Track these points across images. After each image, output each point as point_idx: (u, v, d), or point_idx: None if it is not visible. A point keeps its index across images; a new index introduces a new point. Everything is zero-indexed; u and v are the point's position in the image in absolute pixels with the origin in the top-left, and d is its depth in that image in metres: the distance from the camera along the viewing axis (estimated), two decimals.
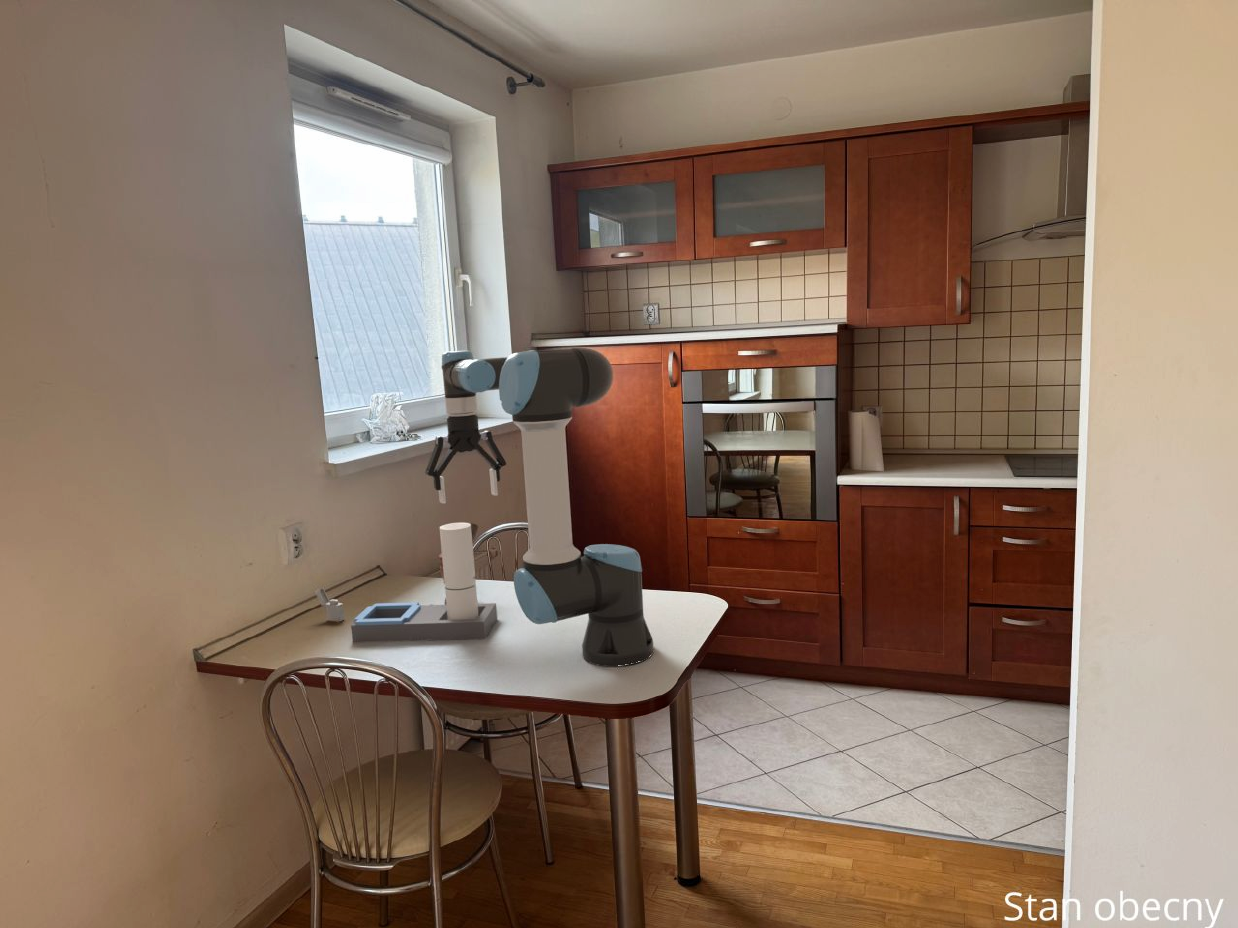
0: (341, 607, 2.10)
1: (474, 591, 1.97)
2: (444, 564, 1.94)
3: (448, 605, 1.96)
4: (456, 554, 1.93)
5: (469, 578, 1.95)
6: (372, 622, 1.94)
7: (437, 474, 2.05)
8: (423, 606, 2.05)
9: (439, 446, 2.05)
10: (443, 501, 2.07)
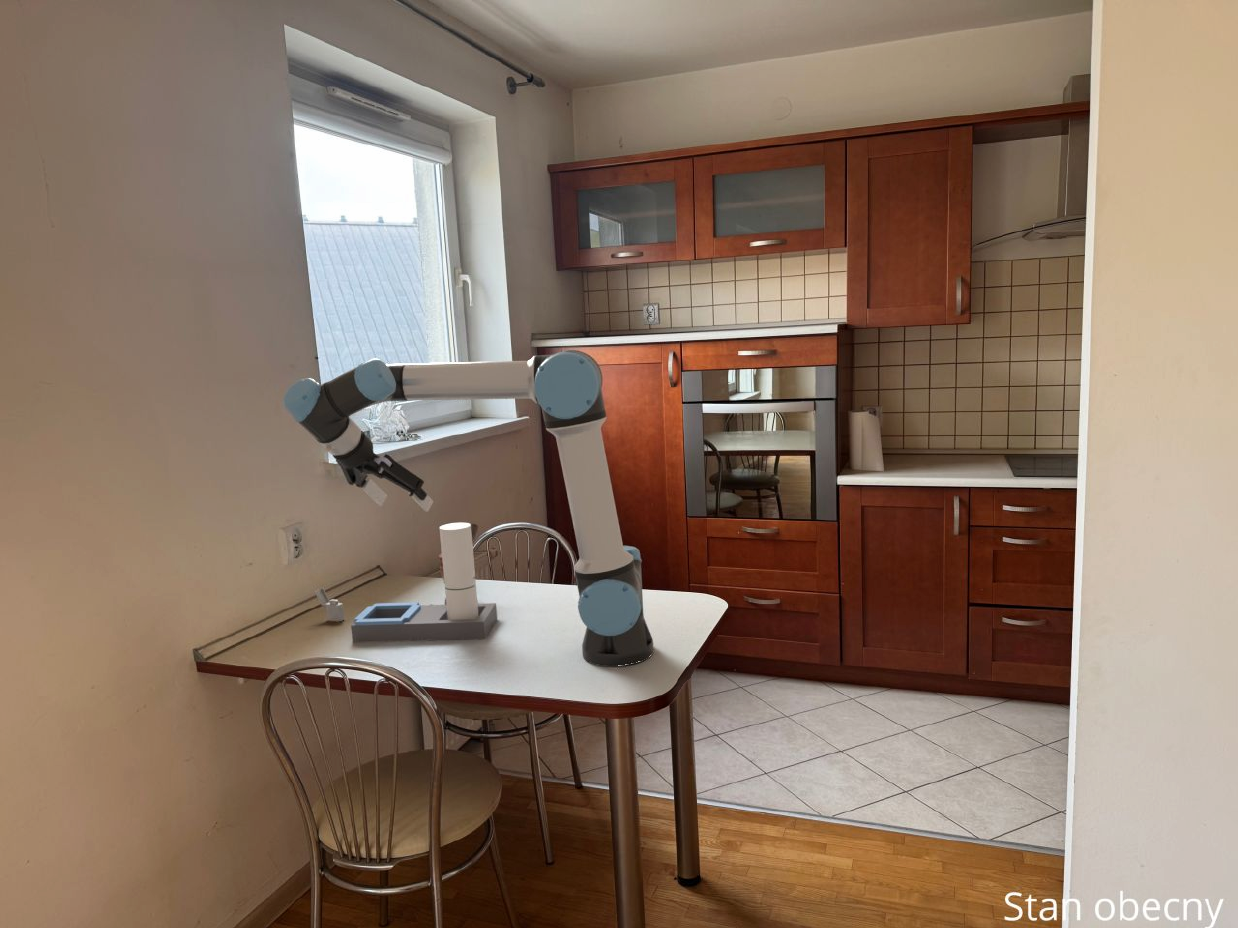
0: (341, 607, 2.10)
1: (474, 591, 1.97)
2: (444, 564, 1.94)
3: (448, 605, 1.96)
4: (456, 554, 1.93)
5: (469, 578, 1.95)
6: (372, 622, 1.94)
7: None
8: (423, 606, 2.05)
9: None
10: (431, 500, 1.78)
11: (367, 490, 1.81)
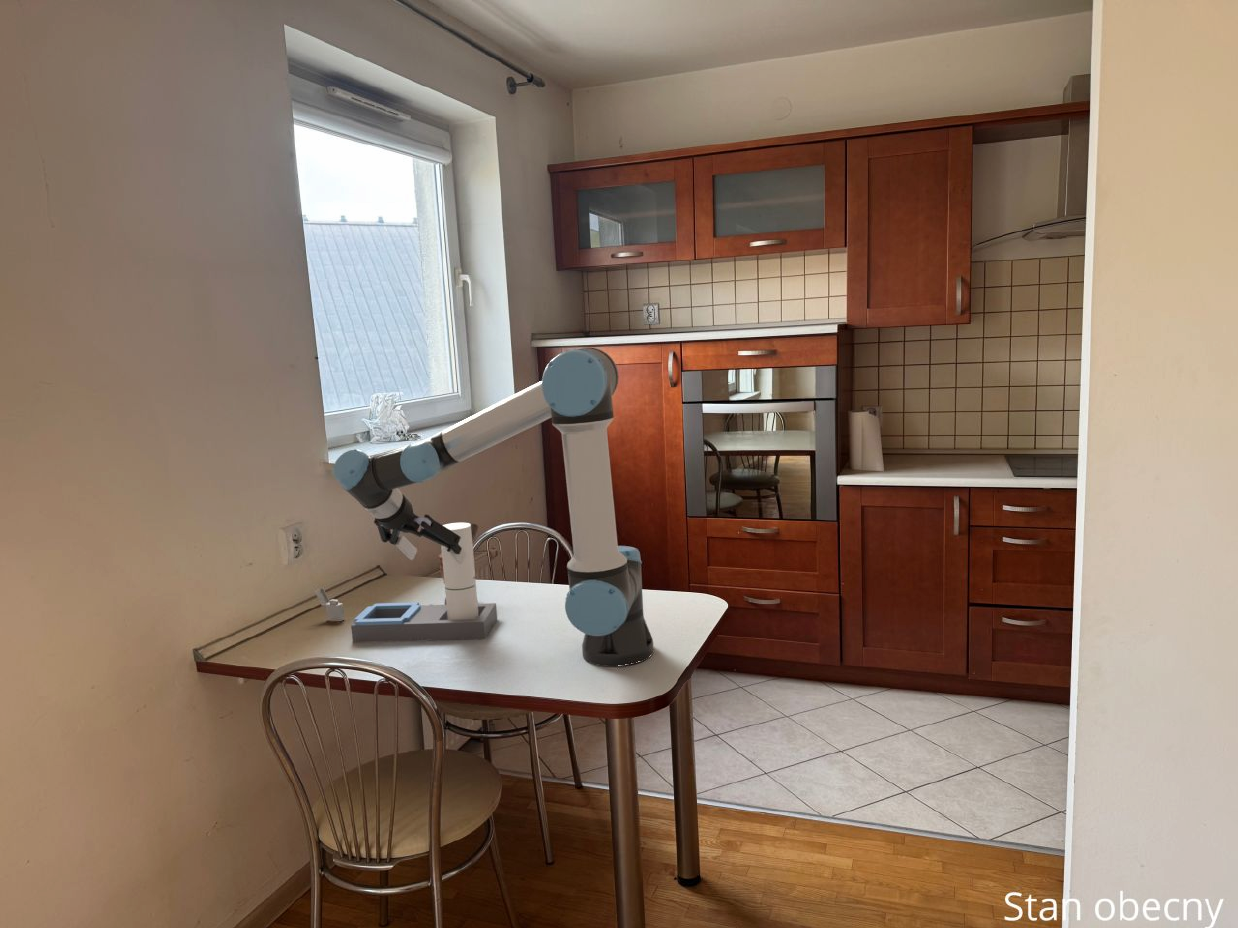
0: (341, 607, 2.10)
1: (474, 591, 1.97)
2: (444, 564, 1.94)
3: (448, 605, 1.96)
4: None
5: (469, 578, 1.95)
6: (372, 622, 1.94)
7: None
8: (423, 606, 2.05)
9: None
10: None
11: (400, 546, 1.90)
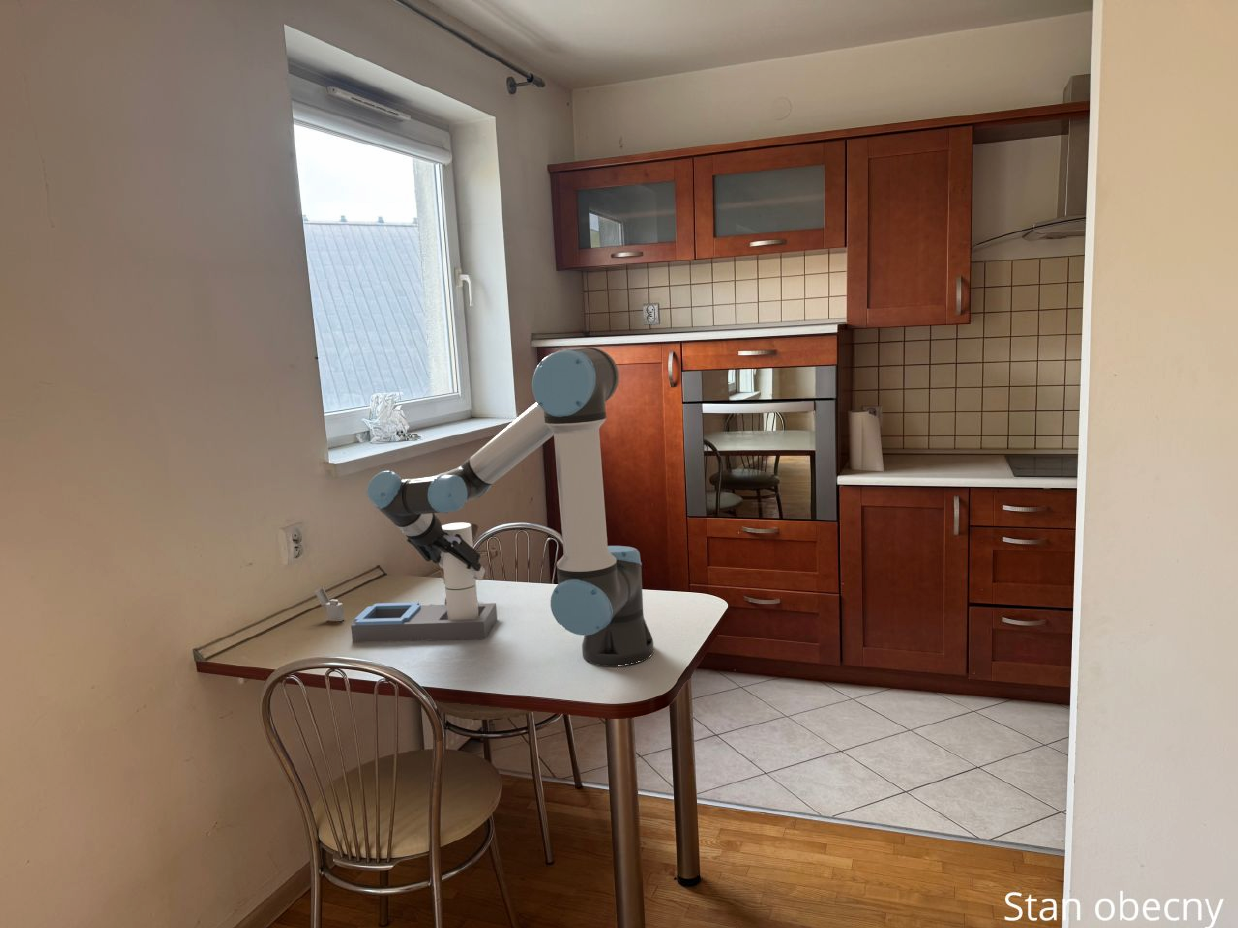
0: (341, 607, 2.10)
1: (474, 591, 1.97)
2: (444, 564, 1.94)
3: (448, 605, 1.96)
4: None
5: (469, 578, 1.95)
6: (372, 622, 1.94)
7: None
8: (423, 606, 2.05)
9: None
10: (483, 569, 1.99)
11: None
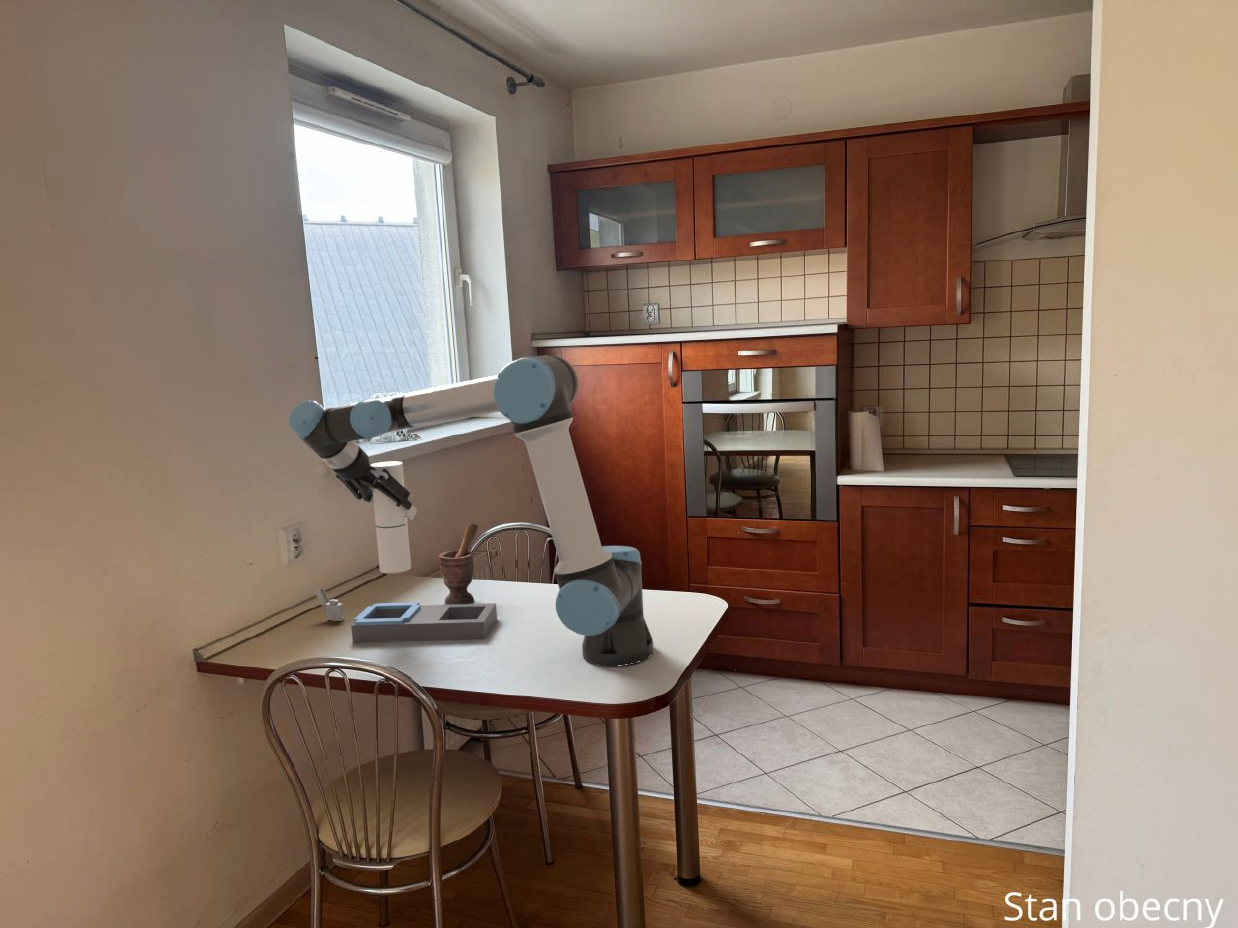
0: (341, 607, 2.10)
1: (405, 530, 1.96)
2: (374, 502, 1.93)
3: (378, 543, 1.95)
4: None
5: (399, 516, 1.94)
6: (372, 622, 1.94)
7: None
8: (423, 606, 2.05)
9: None
10: (415, 509, 1.98)
11: None
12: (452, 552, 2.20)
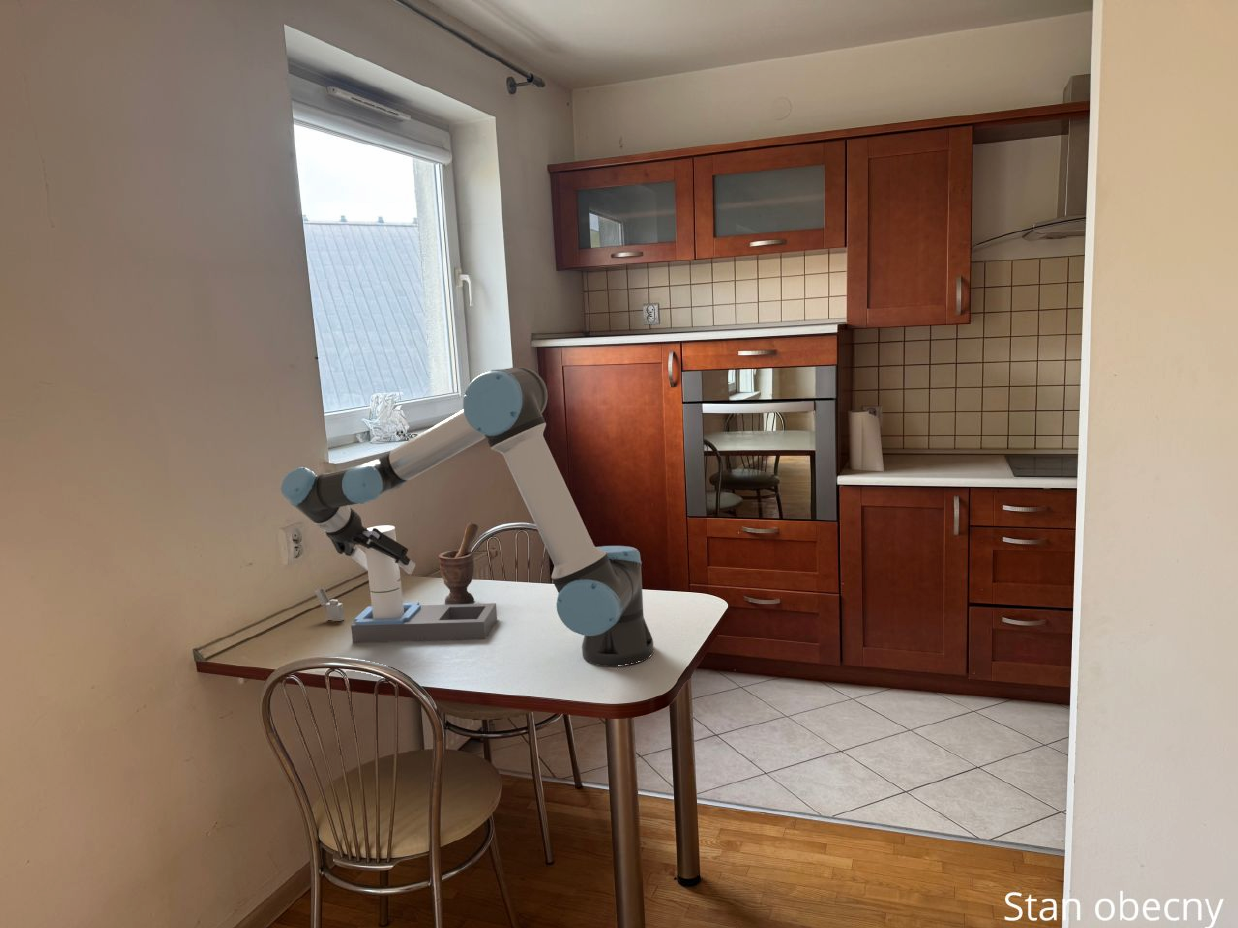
0: (341, 607, 2.10)
1: (399, 593, 1.98)
2: (368, 567, 1.95)
3: (373, 608, 1.97)
4: (378, 557, 1.94)
5: (393, 581, 1.96)
6: (372, 622, 1.94)
7: None
8: (423, 606, 2.05)
9: None
10: (413, 563, 1.98)
11: (356, 558, 1.98)
12: (452, 552, 2.20)
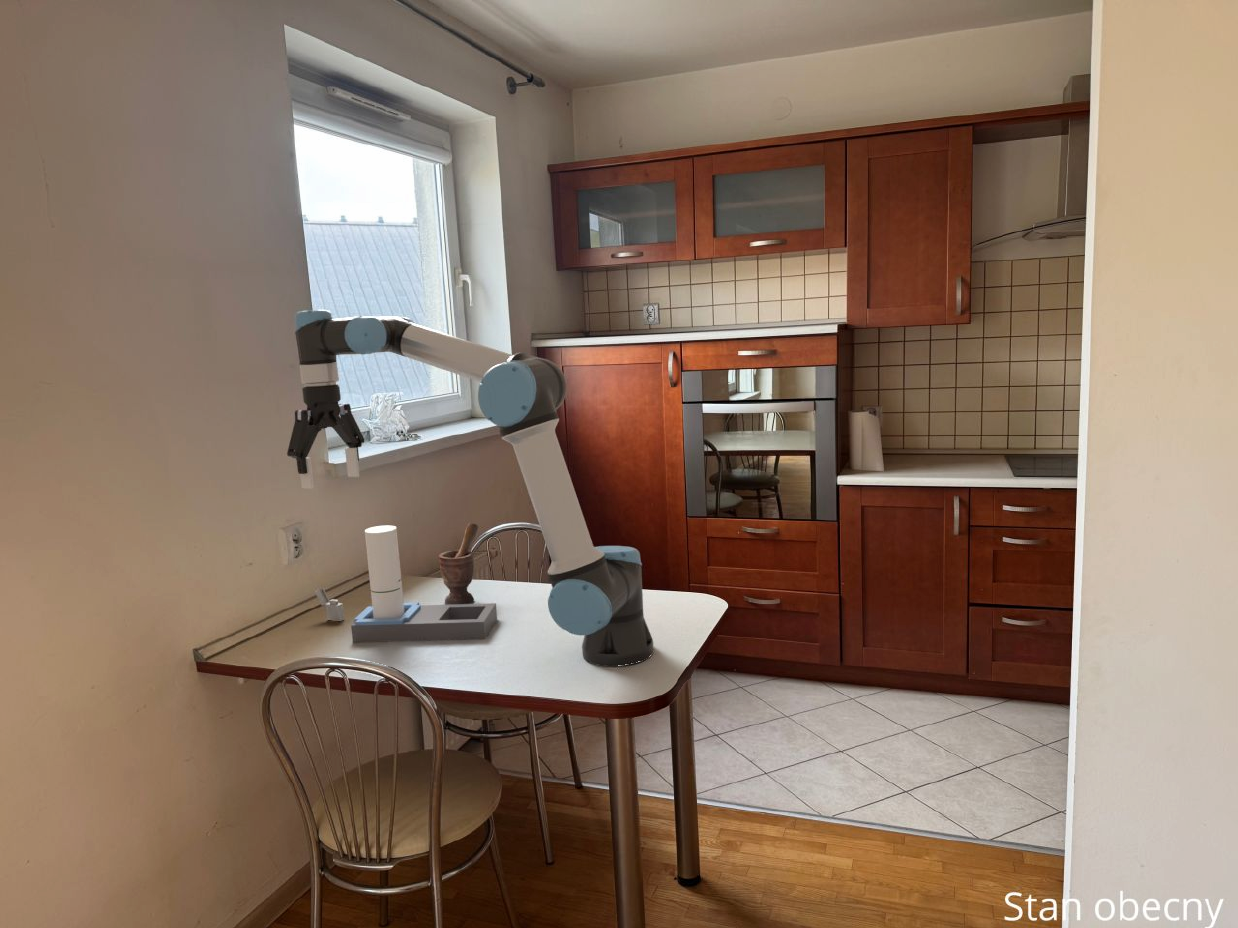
0: (341, 607, 2.10)
1: (399, 594, 1.98)
2: (369, 567, 1.95)
3: (373, 607, 1.97)
4: (380, 557, 1.94)
5: (394, 581, 1.96)
6: (372, 622, 1.94)
7: (304, 454, 1.74)
8: (423, 606, 2.05)
9: (304, 421, 1.74)
10: (311, 486, 1.76)
11: (346, 452, 1.88)
12: (452, 552, 2.20)
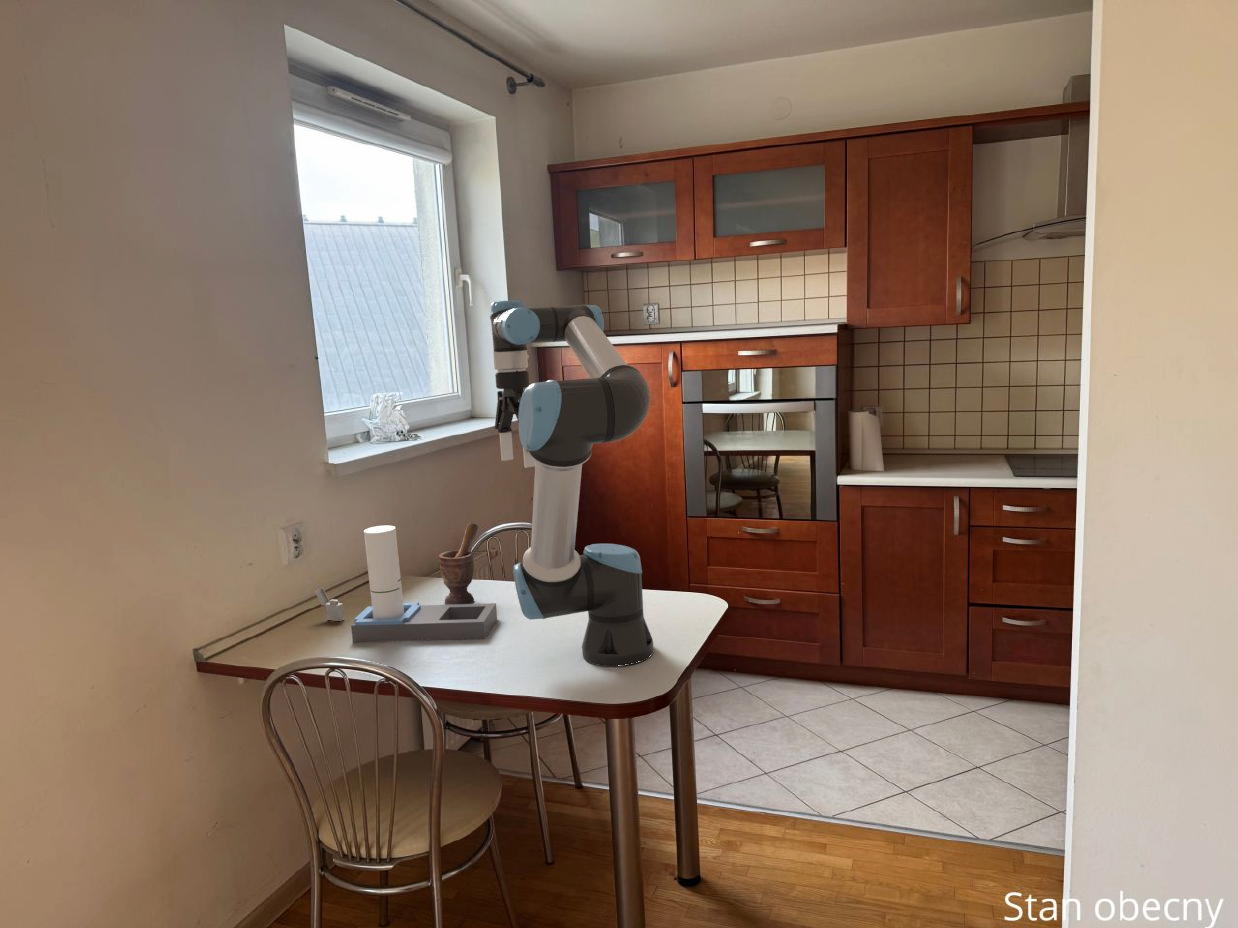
0: (341, 607, 2.10)
1: (399, 594, 1.98)
2: (368, 567, 1.95)
3: (373, 608, 1.97)
4: (379, 557, 1.94)
5: (393, 581, 1.96)
6: (372, 622, 1.94)
7: (498, 429, 1.99)
8: (423, 606, 2.05)
9: (498, 401, 1.97)
10: (502, 458, 1.99)
11: None
12: (452, 552, 2.20)
